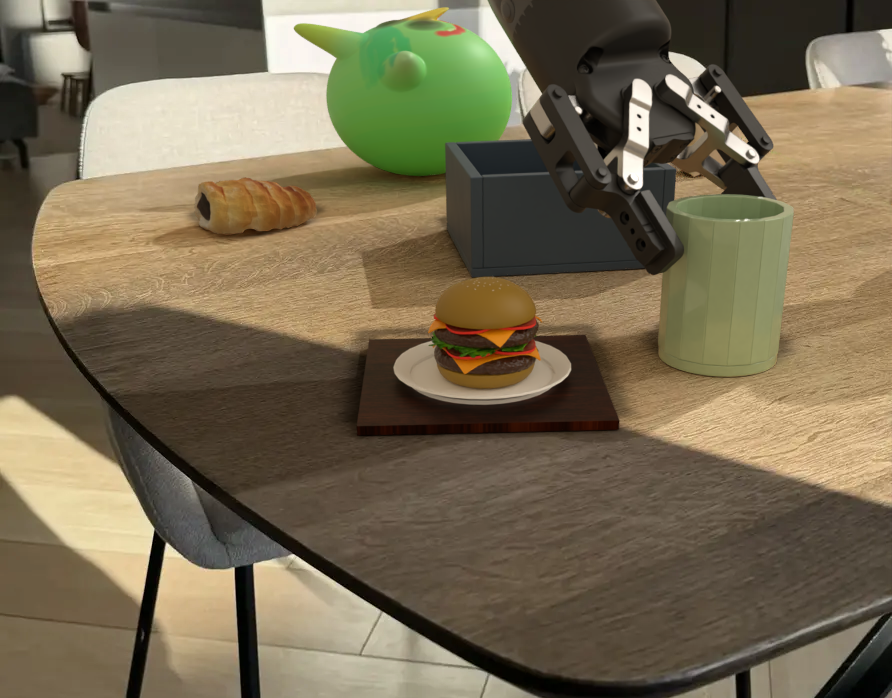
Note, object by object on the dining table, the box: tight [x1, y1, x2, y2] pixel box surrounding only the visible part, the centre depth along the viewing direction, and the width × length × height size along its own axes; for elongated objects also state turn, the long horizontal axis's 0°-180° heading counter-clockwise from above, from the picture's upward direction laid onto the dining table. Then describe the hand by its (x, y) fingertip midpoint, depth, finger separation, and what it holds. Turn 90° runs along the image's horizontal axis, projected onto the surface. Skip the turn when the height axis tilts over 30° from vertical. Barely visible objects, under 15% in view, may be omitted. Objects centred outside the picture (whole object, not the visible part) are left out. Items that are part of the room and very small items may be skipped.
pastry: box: [194, 177, 318, 236], centre depth 88 cm, size 9×7×4 cm
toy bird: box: [293, 6, 513, 177], centre depth 103 cm, size 18×17×15 cm
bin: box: [445, 138, 677, 278], centre depth 80 cm, size 14×14×7 cm
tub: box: [657, 193, 795, 378], centre depth 58 cm, size 6×6×8 cm
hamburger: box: [356, 276, 620, 436], centre depth 55 cm, size 12×12×6 cm
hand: (723, 250), depth 57 cm, fingers open, 8 cm apart
